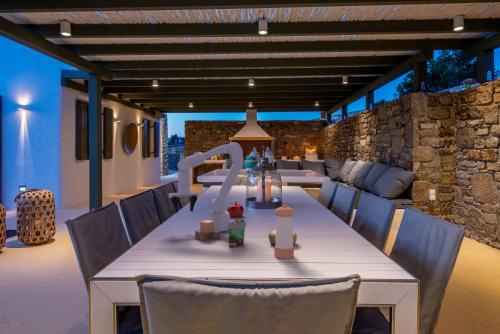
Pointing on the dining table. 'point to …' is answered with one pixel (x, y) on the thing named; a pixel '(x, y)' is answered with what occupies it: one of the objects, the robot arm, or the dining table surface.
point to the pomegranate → (235, 210)
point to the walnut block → (207, 235)
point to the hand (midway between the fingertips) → (184, 211)
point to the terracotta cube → (207, 226)
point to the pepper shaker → (284, 233)
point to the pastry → (273, 234)
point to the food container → (236, 233)
